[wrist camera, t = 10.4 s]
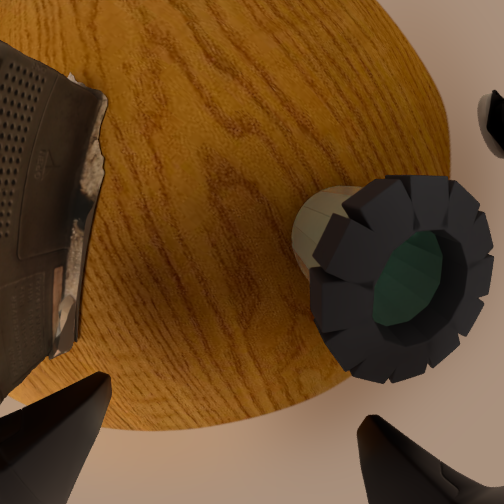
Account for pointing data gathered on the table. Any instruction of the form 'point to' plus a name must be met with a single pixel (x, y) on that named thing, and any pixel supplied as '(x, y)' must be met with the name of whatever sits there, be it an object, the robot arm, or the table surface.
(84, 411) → the robot arm
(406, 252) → the cup
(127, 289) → the table surface
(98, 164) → the radio
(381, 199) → the ring
